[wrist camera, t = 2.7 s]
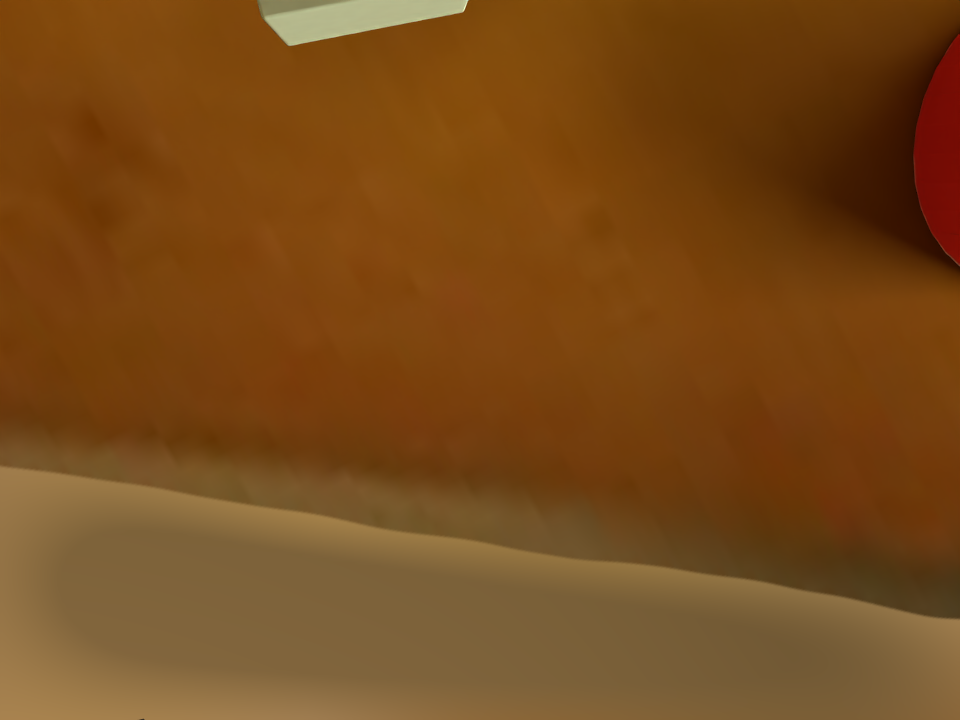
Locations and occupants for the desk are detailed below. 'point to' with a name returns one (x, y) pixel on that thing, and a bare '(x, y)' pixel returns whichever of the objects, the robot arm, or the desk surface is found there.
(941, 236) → the toy clock
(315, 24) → the pencil tin
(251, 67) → the desk surface
